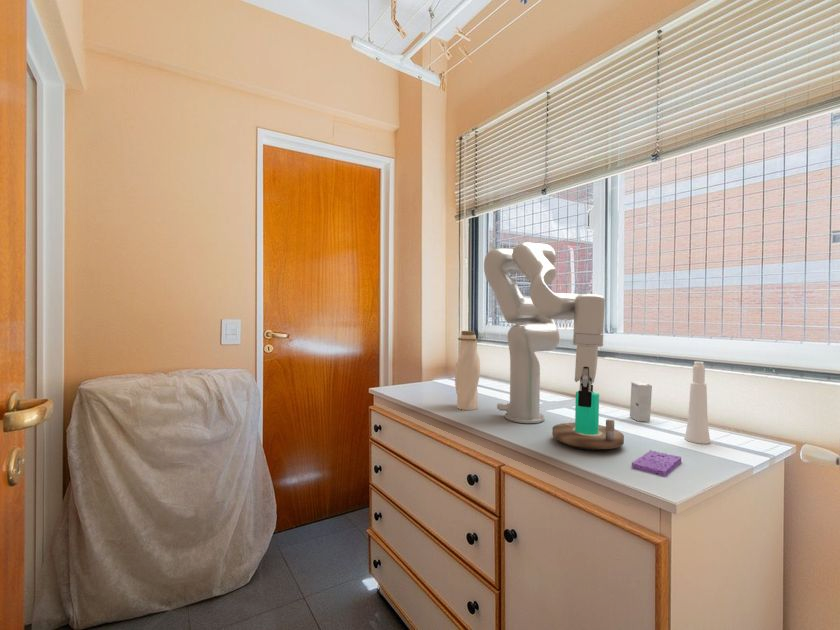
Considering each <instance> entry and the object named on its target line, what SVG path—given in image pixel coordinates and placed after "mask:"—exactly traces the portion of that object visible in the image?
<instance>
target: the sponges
mask: <svg viewBox="0 0 840 630" xmlns="http://www.w3.org/2000/svg"><path fill="white" fill-rule="evenodd" d="M680 463H681V464H682V456H680V455H675V454H668V453H664V452H659V451H656V450H652V449H650V450H649V451H647V452H646V453H644V454H642V455H641V456H639V457H637V458H636V459H635V460H634V461H632V462H631V467H632V468H633V469H635V470H637V469H638V471H641V470H642V471H641V472H645V471H646V473H649V472H650V474H654V475H657V476H661V477H666V476H668V473H669V474H670V473H671V472H673V471H674V470H675V469H676V468H677V467H678V466H679V465H680ZM675 467H676V468H675Z"/></svg>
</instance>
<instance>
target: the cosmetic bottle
mask: <svg viewBox="0 0 840 630" xmlns="http://www.w3.org/2000/svg"><path fill="white" fill-rule="evenodd" d="M693 364H694V365H692V381H691V382H690V387H689V402H688V411H687V412H688V414H687V415H688V416H687V422H686V423H687V425H686V430H685V435H684V439H685V440H686V441H688V442H690V443H695V444H700V445H706V444H710V443H711V438H710V430H709V419H708V416H709V415H708V391H707V389H708V388H707V383H706V382H705V380H706V378H705V377H706V370H705V369H706V366H705V365H704V361H694V362H693Z"/></svg>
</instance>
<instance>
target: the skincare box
mask: <svg viewBox="0 0 840 630" xmlns="http://www.w3.org/2000/svg"><path fill="white" fill-rule="evenodd" d="M630 383H631V384H630V385H631V386H630V405H629V406H630V407H629V418H631V419H632V420H634V419H635V420H634V421H636V420H637V421H636V422H639V421H650V422H651V410H652V394H653V393H652V391H653V386H652V385H651V384H649V383H647V382H645V381H631V382H630Z"/></svg>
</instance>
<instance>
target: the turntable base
mask: <svg viewBox="0 0 840 630" xmlns="http://www.w3.org/2000/svg"><path fill="white" fill-rule="evenodd" d="M566 445H567V446H569V447H571V448H575V449H579V450H584V451H596V452H597V451H598V452H599V451H607V450H608V449H592V448H584V447H578V446H573V445H569V444H566Z"/></svg>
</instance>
